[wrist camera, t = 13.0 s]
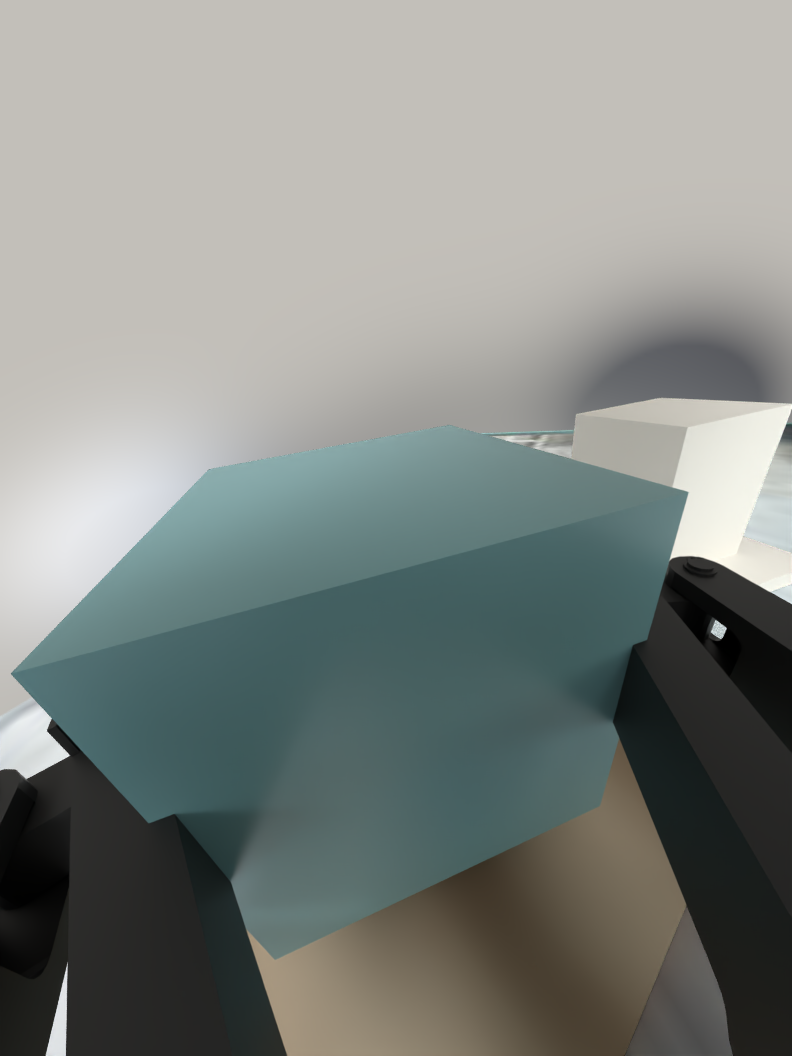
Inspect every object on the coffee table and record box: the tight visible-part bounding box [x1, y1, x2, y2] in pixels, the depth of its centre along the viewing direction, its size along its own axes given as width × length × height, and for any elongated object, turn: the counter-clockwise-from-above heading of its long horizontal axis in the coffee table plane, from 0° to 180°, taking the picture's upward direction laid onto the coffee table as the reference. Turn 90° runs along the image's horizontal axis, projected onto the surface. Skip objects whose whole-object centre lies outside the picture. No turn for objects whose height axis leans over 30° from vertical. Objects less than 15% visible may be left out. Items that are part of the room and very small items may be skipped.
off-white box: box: [571, 398, 792, 592], centre depth 21 cm, size 12×12×10 cm
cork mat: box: [246, 739, 687, 1056], centre depth 13 cm, size 16×16×1 cm
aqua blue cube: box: [11, 425, 689, 960], centre depth 10 cm, size 9×9×10 cm
